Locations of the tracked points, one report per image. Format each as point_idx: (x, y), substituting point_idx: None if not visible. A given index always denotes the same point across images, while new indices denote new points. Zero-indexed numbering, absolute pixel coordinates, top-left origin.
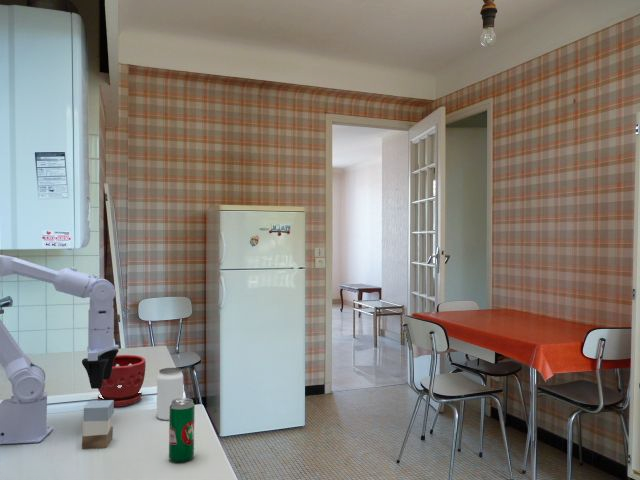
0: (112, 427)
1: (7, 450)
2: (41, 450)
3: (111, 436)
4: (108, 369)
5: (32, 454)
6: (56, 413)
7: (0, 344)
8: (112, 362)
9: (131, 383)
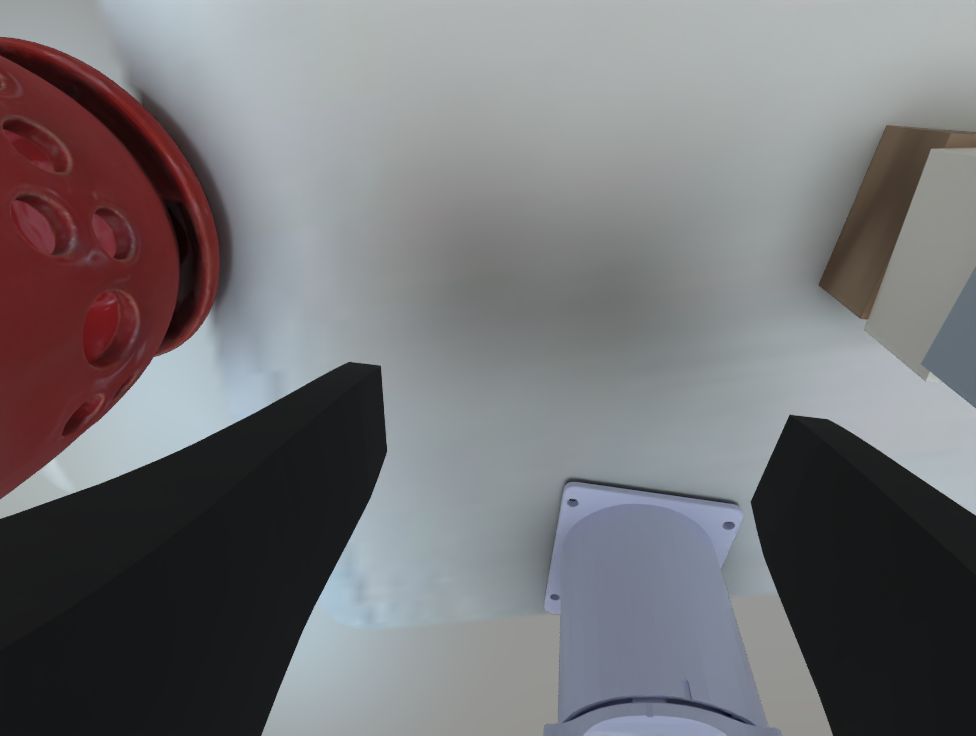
0: (956, 133)
1: (774, 588)
2: None
3: (940, 130)
4: (310, 463)
5: None
6: None
7: None
8: (214, 506)
9: (16, 113)
